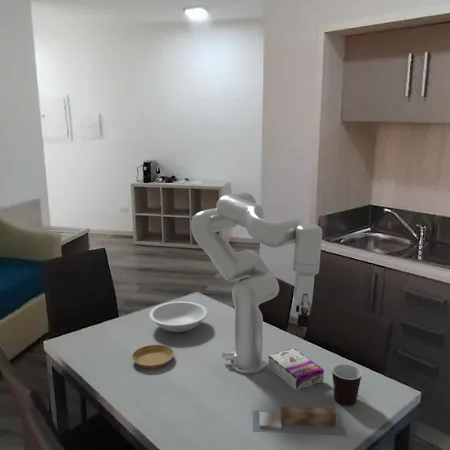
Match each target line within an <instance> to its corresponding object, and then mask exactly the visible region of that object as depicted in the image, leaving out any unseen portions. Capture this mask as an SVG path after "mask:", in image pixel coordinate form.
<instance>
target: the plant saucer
mask: <svg viewBox="0 0 450 450" xmlns="http://www.w3.org/2000/svg"><path fill="white" fill-rule="evenodd" d="M174 356H175V352H174V350H173V349H172V348H171V347H169V346H168V345H163V344H149V345H144V346H142V347H140V348H137V349H136V350H135V351H134V352H133V354H132V355H131V360H132V361H134V363H135V364H137V365H138V366H140V367H141V368H143V369H149V370H152V369H153V370H154V369H159V368H161V367H163V366H165V365H168V363H169V362H170V361H171V360H172V359H173V357H174Z"/></svg>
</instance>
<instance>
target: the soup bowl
mask: <svg viewBox="0 0 450 450" xmlns="http://www.w3.org/2000/svg"><path fill="white" fill-rule="evenodd" d="M208 314H209V312H208V309H207V308H206V307H205V305H202V304H200V303H197V302H193V301H182V300H181V301H180V300H179V301H171V302H165V303H163V304H162V303H161V304H159V305H156V306H154V308H151V310H150V312H149V316H148V317H149V319H150V321H152V322H153V323H155V324H156V325H157V326H158V327H159V328H161V329H162V330H164V331H167V332H172V333H182V332H188V331H191V330H192V329H195V328H196V327H197V326H198V325H200V324H201V323H202V321H203V320H205V319H206V318H207V316H208Z"/></svg>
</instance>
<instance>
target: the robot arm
mask: <svg viewBox="0 0 450 450" xmlns="http://www.w3.org/2000/svg"><path fill="white" fill-rule="evenodd" d="M256 201H257V200H256V199H255V196H253V195H252V194H250V193H249V192H237V193H229V194H225V195H222V196H221V197H220V198H219V199H218V200H217V202H216V204H215V205H216V206H215V207H214V208H209V209H204V210H202V211H199V212H196V213H195V214H194V215H193V216H192V219H191V222H190V223H191V224H190V229H191V233H192V236H193V239H194V240H195V242H196V244H198V246H199V247H200V248H201V249H202V250H203V251H204V252H205V253H206V255H208V258H209V259H210V260H211V262H212V264H213V265H214V266H215V268H216V269H217V271H218V272H219V274H220V275H221V276H222V277H223V278H224V280H225V281H227V282H236V281H238V282H236V283H235V284H234V285H233V288H232V291H231V296H232V302H233V306H234V348H233V350H231V351H222V353H221V354H222V355H221V356H222V358H224V359H225V360H224V361H230V366H231V368H232V369H233V370H235V371H237V372H238V373H241V374H247V375H248V374H257V373H261V372H262V371H264V370H265V368H266V367H267V363H268V362H267V360H266V358H265V357H264V356H263V336H264V335H263V334H264V331H263V330H264V329H263V328H264V324H263V323H264V319H263V314H262V313H263V312H262V311H261V310H260V308H259V306H260V304H262V303H266V302H268V301H270V300H272V299H274V298H275V297H277V296H278V295H279V291H280V285H279V282H278V281H279V280H278V279H277V277H276V276H275V274H274V273H273V272H272V270H271V269H270V268H269V267H268V265H267V264H266V263H265V261H264V260H263V258H262V257H261V256H260V255H259V254H258V253H257V252H256V251H254V250H252V249H244V250H240V251H236V250H235V249H234V248H233V247H232V246H231V244H230V243H229V242H228V240H227V239H225V238H224V237H222V236H220V235H219V234H217V233H218V232H222V231H227V230H230V229H233V228H235V227H237V226H241V227H243V228H245V229H246V231H247V233H248V234H249V236H250V238H251V239H252V240H253V241H256V242H258V243H260V244H261V245H264V246H266V247H270V248H281V247H284V246H285V247H286V246H287V245H292V244H293V245H294V253H293V264H292V265H293V267H292V268H293V269H292V271H293V272H295V276H294V278H295V279H294V286H293V287H294V288H293V301H294V302H293V304H294V306H295V312H296V313H297V325H296V326H297V327H298V328H309V324H310V308H311V306H312V303H313V297H314V296H313V295H314V285H315V275H318V274H319V272H320V265H321V262H320V261H321V251H322V241H323V229H322V228H321V226H319V225H317V224H315V223H314V224H312V223H308V222H306V221H304V220H302V219H300V218H297V217H290V218H286V219H281V220H276V221H269V220H266V219H264V209H263V207H262V206H261V205H259V204H258V203H257V202H256Z"/></svg>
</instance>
